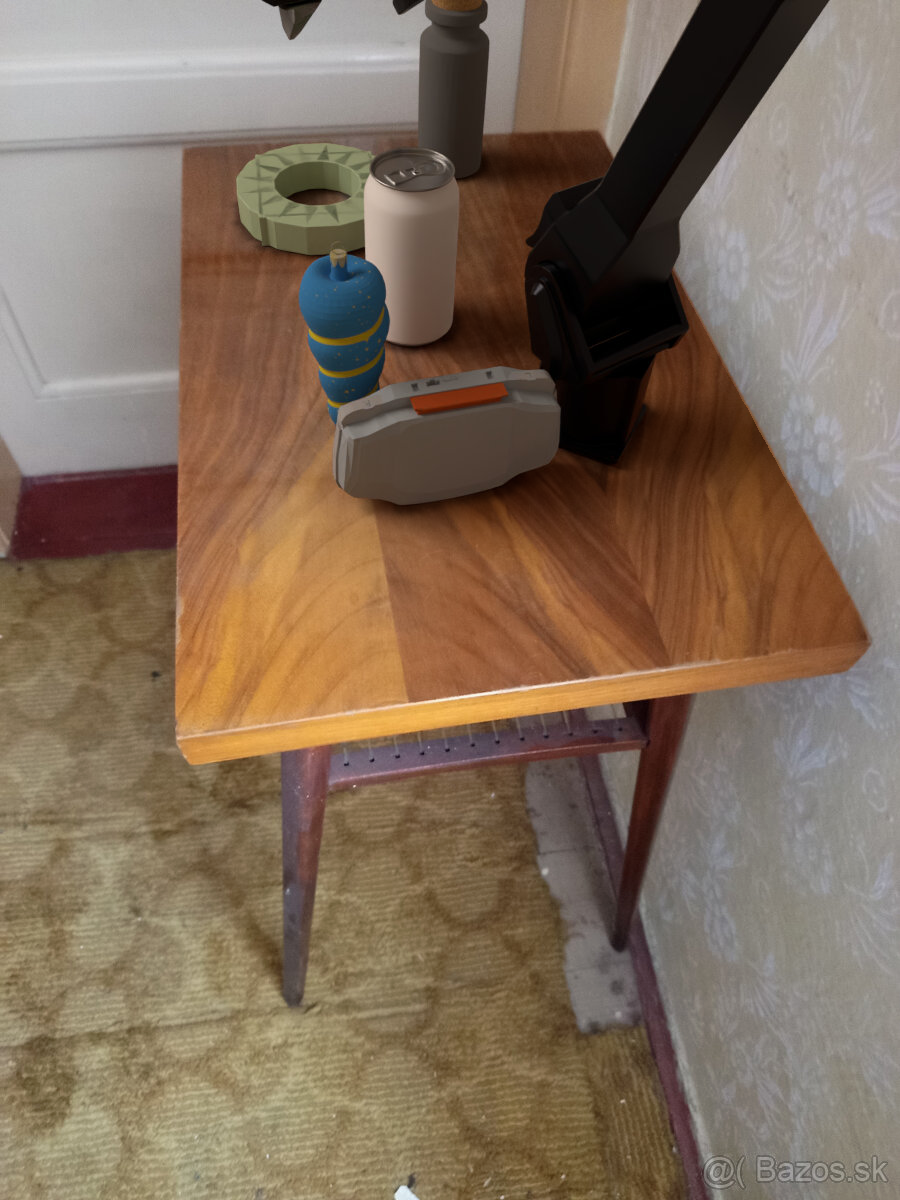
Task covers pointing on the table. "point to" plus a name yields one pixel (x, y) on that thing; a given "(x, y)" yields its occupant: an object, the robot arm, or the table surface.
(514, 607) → the table surface
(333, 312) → the ornament
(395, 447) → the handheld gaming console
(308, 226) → the holder
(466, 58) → the bottle
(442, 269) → the can
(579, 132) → the table surface
